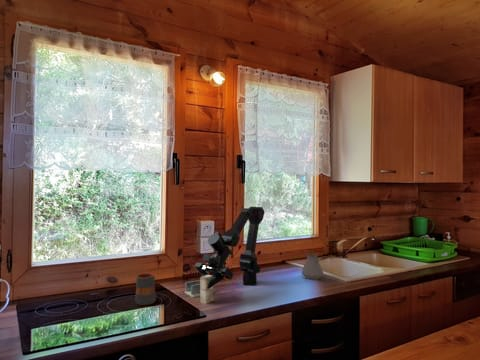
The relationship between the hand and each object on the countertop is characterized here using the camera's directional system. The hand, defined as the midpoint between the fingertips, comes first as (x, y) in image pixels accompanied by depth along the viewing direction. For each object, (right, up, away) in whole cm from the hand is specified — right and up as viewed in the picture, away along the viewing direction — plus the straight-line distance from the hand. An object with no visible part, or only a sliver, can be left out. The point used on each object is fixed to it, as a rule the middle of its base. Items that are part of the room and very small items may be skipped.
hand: (204, 287), depth 164 cm
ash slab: (+1, -7, +1) cm, 7 cm away
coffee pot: (+57, -6, +34) cm, 66 cm away
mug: (-26, -7, +2) cm, 27 cm away
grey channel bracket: (-4, -6, +13) cm, 15 cm away
